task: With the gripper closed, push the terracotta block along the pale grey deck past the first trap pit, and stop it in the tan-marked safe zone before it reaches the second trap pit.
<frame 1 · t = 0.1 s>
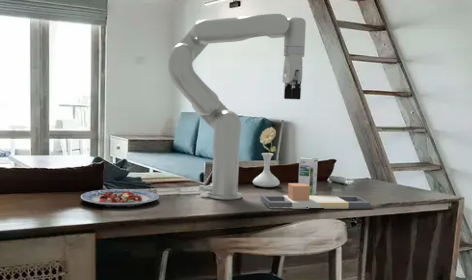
hand: (292, 99, 195), 37 cm above the table, tool pointing down, fingers open, 9 cm apart
terracotta block: (298, 198, 184), point 2 cm above the table, touching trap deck
flower in vase: (266, 187, 219), on the table
syrup box: (306, 195, 204), on the table
ceramic plate: (120, 202, 179), on the table
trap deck: (314, 204, 186), on the table
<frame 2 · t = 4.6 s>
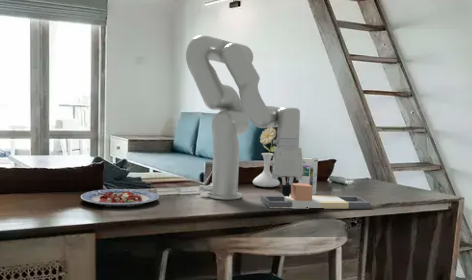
hand: (286, 195, 183), 3 cm above the table, tool pointing down, fingers closed
terracotta block: (301, 198, 184), point 2 cm above the table, touching gripper, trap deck
everything else where it was.
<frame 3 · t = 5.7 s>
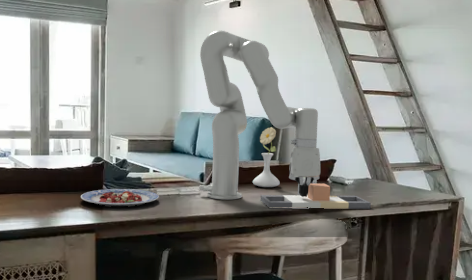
hand: (303, 195, 184), 3 cm above the table, tool pointing down, fingers closed
terracotta block: (318, 199, 185), point 2 cm above the table, touching gripper, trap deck
everything else where it was.
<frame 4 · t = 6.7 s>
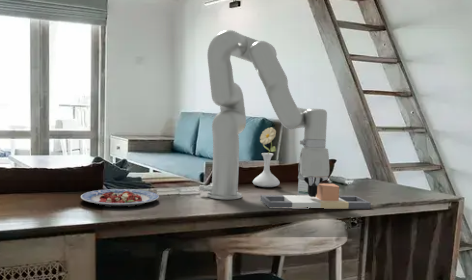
hand: (312, 196, 185), 3 cm above the table, tool pointing down, fingers closed
terracotta block: (327, 199, 186), point 2 cm above the table, touching gripper, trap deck
everything else where it was.
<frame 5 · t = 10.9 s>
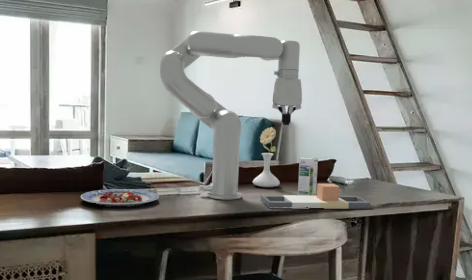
hand: (285, 124, 195), 27 cm above the table, tool pointing down, fingers closed
terracotta block: (327, 199, 186), point 2 cm above the table, touching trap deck
everything else where it was.
at the end: terracotta block inside the target area on the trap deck (0.4 cm from its centre), point 2.0 cm above the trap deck's base; terracotta block tilted 0°; terracotta block moved 10.6 cm from its start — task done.
